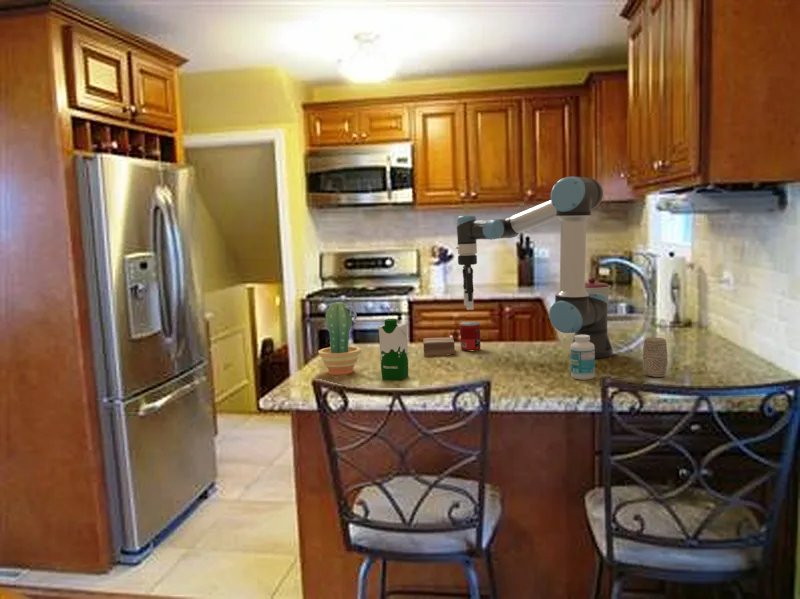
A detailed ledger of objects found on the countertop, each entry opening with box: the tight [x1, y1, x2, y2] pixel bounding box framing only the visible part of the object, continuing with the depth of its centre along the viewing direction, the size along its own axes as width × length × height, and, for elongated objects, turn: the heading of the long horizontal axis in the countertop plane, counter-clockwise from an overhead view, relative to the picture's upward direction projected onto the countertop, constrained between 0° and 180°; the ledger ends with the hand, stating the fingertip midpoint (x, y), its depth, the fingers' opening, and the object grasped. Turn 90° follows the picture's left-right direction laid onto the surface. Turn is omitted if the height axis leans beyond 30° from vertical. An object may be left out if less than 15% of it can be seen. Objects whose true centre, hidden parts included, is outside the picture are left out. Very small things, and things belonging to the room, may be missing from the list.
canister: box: [585, 276, 611, 308], centre depth 339 cm, size 18×18×21 cm
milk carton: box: [377, 318, 409, 381], centre depth 222 cm, size 9×9×20 cm
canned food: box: [459, 321, 481, 351], centre depth 268 cm, size 8×8×11 cm
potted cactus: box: [318, 301, 362, 376], centre depth 236 cm, size 15×16×25 cm
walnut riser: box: [422, 336, 456, 357], centre depth 264 cm, size 12×12×5 cm
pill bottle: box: [569, 334, 596, 381], centre depth 210 cm, size 8×7×14 cm
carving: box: [642, 337, 669, 378], centre depth 207 cm, size 6×8×12 cm
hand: (468, 307), depth 267 cm, fingers open, 13 cm apart
